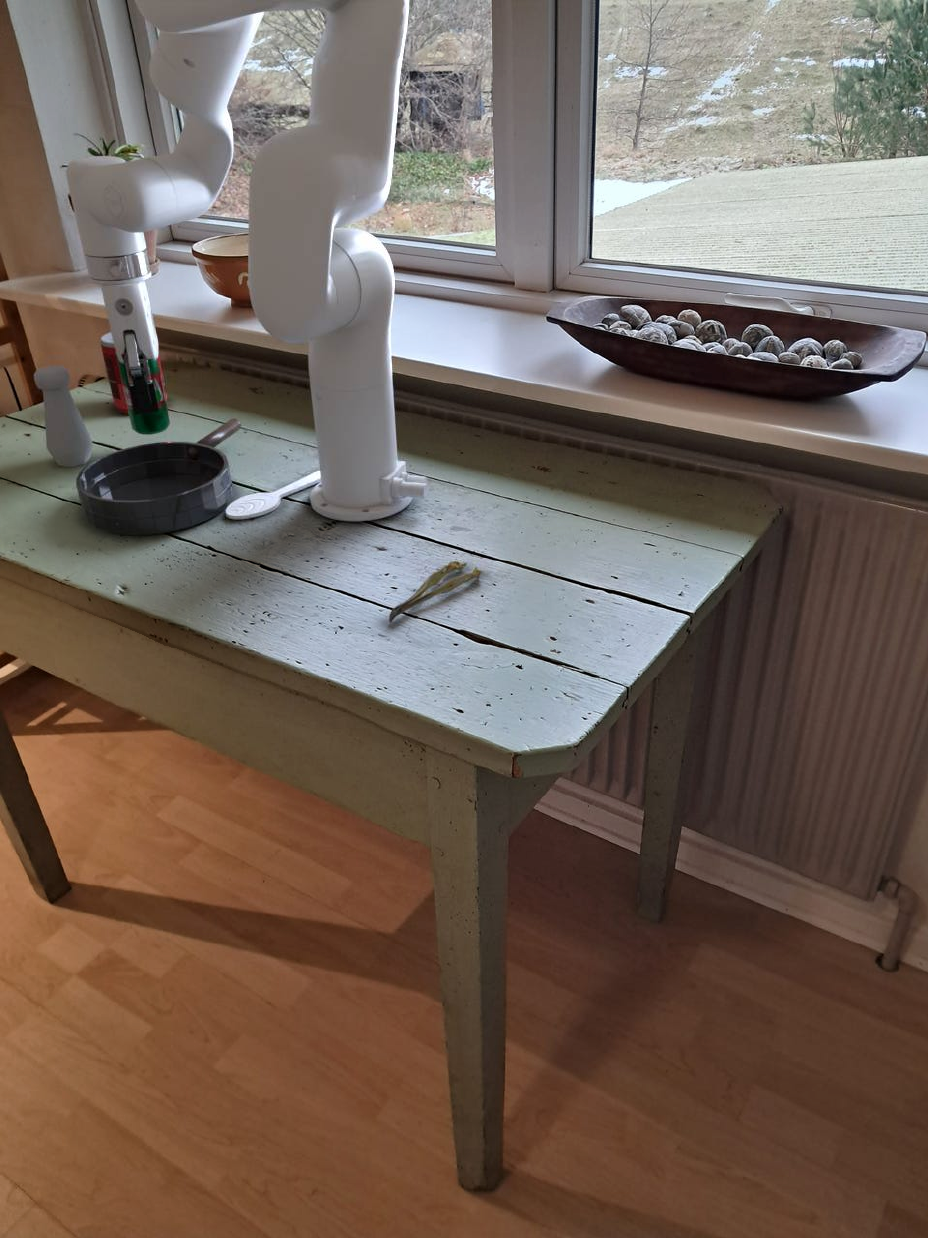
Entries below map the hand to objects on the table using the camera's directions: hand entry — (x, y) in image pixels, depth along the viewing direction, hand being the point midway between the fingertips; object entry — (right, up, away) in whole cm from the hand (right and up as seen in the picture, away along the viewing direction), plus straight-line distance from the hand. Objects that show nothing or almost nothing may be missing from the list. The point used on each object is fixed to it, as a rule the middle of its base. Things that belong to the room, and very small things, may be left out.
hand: (147, 403), depth 130 cm
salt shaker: (-11, -8, +2) cm, 13 cm away
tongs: (+40, -27, -31) cm, 57 cm away
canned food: (-7, +4, +20) cm, 21 cm away
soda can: (0, -3, +2) cm, 4 cm away
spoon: (+21, -13, -9) cm, 26 cm away
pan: (+5, -15, -10) cm, 19 cm away
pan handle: (+9, -6, -1) cm, 11 cm away
